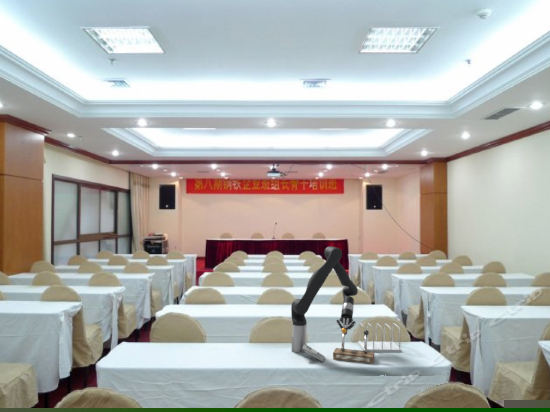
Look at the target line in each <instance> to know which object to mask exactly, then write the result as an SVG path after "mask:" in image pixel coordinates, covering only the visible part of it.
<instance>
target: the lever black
mask: <svg viewBox="0 0 550 412" xmlns="http://www.w3.org/2000/svg"><path fill="white" fill-rule="evenodd" d="M369 333H370V332H369V329H368V330H367V329H365V331H364V330H363V336H364V335H365V342H364V353H367V341H368V339H367V335H368V336H369Z"/></svg>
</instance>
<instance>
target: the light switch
mask: <svg viewBox="0 0 550 412" xmlns="http://www.w3.org/2000/svg"><path fill="white" fill-rule="evenodd" d="M302 350H304V351H306V352H305V353H307V354H309V355H311V356H312V357H314V358H315V359H316V360H318V361H320V362H321V363H323V362H324V361H325V357H326V356H325V355H324V354H322V353H320V352H319V351H317V350H316V349H314V348H312V347H311V346H309V345H306V344H304V346H303V348H302Z"/></svg>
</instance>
